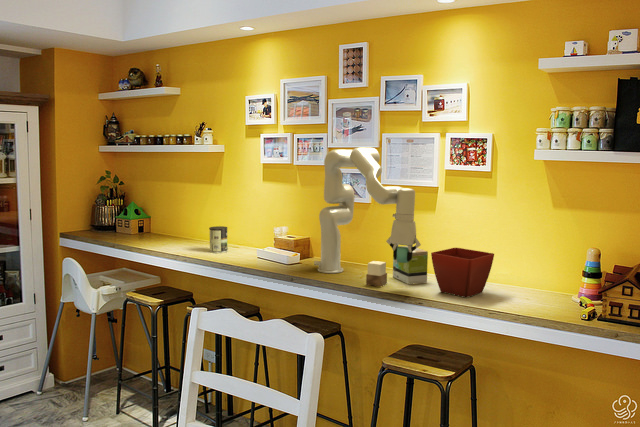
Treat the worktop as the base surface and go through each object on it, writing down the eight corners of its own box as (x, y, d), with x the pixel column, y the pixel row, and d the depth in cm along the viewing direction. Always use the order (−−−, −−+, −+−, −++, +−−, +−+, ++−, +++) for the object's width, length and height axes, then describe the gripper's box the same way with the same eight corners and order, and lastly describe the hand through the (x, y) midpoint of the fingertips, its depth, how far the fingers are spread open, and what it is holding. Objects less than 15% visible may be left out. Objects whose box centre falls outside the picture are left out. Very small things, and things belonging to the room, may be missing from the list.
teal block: (394, 261, 233) (395, 247, 232) (398, 259, 238) (399, 245, 237) (406, 263, 231) (407, 249, 230) (410, 260, 236) (410, 247, 235)
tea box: (391, 277, 258) (392, 246, 256) (410, 276, 261) (411, 245, 259) (408, 284, 244) (408, 251, 242) (427, 283, 247) (428, 250, 246)
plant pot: (468, 301, 218) (470, 259, 216) (428, 292, 231) (430, 252, 229) (493, 293, 231) (495, 253, 229) (454, 284, 244) (455, 247, 243)
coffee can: (225, 249, 326) (225, 225, 324) (229, 252, 316) (229, 228, 315) (208, 250, 322) (207, 226, 320) (211, 253, 312) (211, 228, 311)
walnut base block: (366, 285, 242) (366, 274, 241) (372, 282, 248) (372, 271, 248) (381, 287, 239) (381, 276, 238) (386, 284, 245) (387, 273, 244)
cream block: (367, 274, 241) (367, 263, 241) (373, 271, 247) (373, 260, 246) (380, 276, 239) (380, 264, 238) (385, 273, 244) (385, 262, 243)
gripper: (382, 216, 232) (380, 259, 235) (421, 220, 225) (419, 264, 227) (388, 214, 239) (386, 256, 241) (427, 218, 231) (424, 261, 234)
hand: (402, 259), depth 234 cm, fingers closed on teal block, 5 cm apart
